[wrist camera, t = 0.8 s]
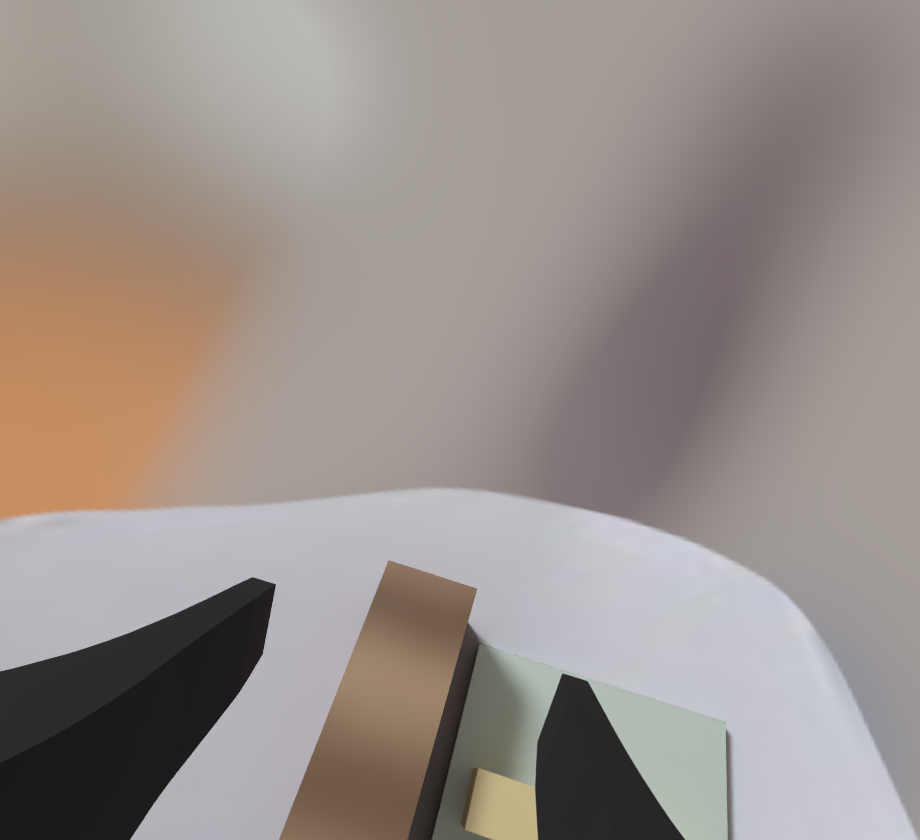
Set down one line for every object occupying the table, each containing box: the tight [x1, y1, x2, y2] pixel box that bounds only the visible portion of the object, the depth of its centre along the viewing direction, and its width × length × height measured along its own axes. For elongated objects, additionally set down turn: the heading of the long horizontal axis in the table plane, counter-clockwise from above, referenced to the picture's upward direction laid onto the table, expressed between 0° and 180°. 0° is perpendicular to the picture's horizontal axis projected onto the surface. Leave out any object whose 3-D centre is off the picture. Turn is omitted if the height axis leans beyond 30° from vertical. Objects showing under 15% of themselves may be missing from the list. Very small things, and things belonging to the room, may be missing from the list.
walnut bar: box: [279, 561, 477, 840], centre depth 20 cm, size 16×4×6 cm, turn 163°
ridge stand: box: [431, 644, 728, 840], centre depth 20 cm, size 12×12×3 cm
